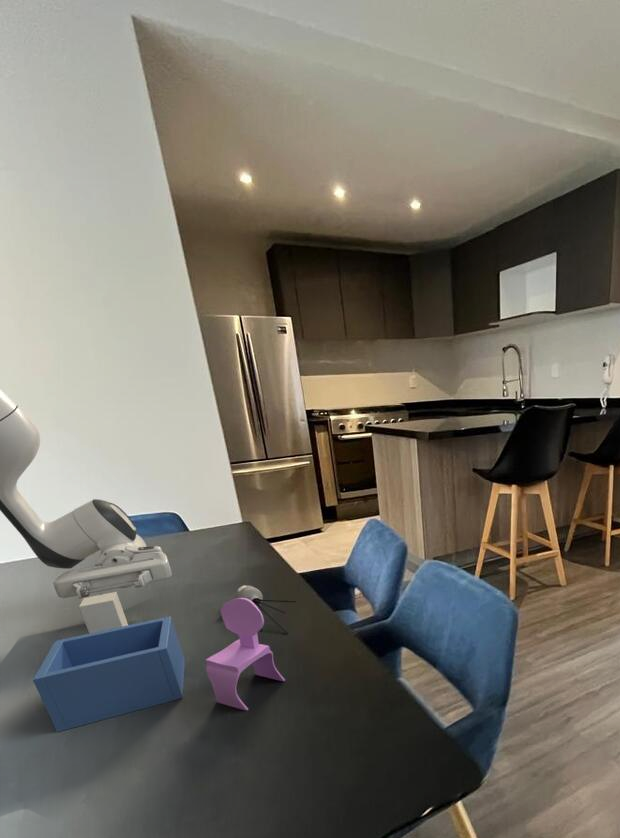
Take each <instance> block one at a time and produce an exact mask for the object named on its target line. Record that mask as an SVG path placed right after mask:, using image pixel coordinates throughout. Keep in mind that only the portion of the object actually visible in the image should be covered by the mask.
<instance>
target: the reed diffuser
mask: <svg viewBox="0 0 620 838" xmlns="http://www.w3.org/2000/svg"><path fill="white" fill-rule="evenodd" d="M263 597H264V595H263V594H262V592H261V591H260V590H259V589H258V588H256V587H254V586H252V585H245V584H244V585H242V586H240V587H239V588H238V589H236V593H235V599H237V598H247V599H249V600H251V601H252V602H253V603H254V604H255V605H256V606H257V607H258V609H260V610H261V611H263V612H264V614H265V615H266V616H268V617H269V618H270V619H271V620H272V621H273V622H274V623H275V624H276V625H277V626H278V627H279V628H280V629H281V630H282V631H283V632H285V634H289V632H288V631H287V630H286V629H285V628H284V627H282V625H281V624H279V623H278V622H277V621H276V619H274V618H273V617H272V615H270V614H269V613H268V612H267V611H266V610H265V609H264V608H263V607H262V606H261V605H264V606H266V607H269V608H271V609H273V610H275V611H278V612H281V613H283V614H286V611H285V610H281V609H279V608H277V607H274V606H272V605H269V604H267V603H265V602H277V603H278V602H281V603H297V601H296V600H282V599H281V600H280V599H264V598H263ZM223 605H224V604H222V605H221V607H222V606H223ZM259 632H263V629H262V628H261V629H260V630H259Z"/></svg>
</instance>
